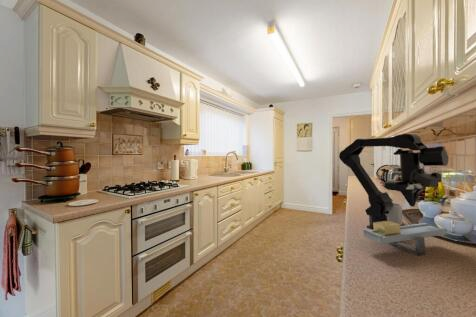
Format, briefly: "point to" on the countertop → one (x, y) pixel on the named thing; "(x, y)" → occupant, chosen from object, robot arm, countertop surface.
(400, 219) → the cup
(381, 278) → the countertop surface
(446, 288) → the countertop surface
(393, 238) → the beam
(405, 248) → the stand
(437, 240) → the countertop surface
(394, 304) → the countertop surface
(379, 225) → the pale yellow block
